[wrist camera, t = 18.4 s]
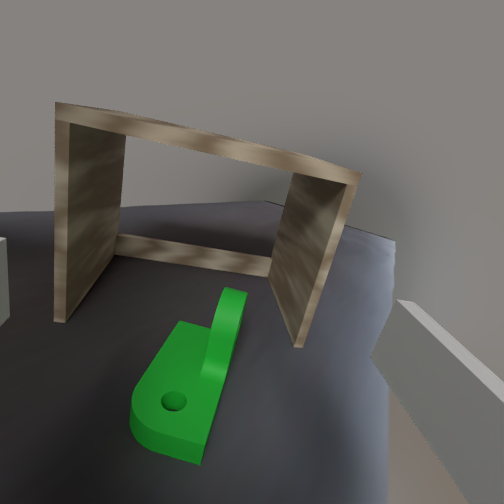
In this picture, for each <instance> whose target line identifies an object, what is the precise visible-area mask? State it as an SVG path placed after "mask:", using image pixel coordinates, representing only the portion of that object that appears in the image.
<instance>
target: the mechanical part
mask: <svg viewBox="0 0 504 504" xmlns="http://www.w3.org/2000/svg"><path fill="white" fill-rule="evenodd" d="M247 296H248V293H247V292H243V291H239V290H236V289H232V288H228V287H225V288H224V290H223V292H222V295H221V298H220V300H219V303H218V306H217V309H216V313H215V316H214V320H213V323H212V327H211V329H209V328H205V327H202V326H198V325H194V324H191V323H187V322H183V321H179V322H178V324H177V325H176V327H175V328H174V330H173V331H172V333H171V334H170V336H169V337H168V339H167V340H166V342H165V343H164V345H163V346H162V348H161V349H160V351H159V352H158V354H157V355H156V357H155V358H154V360H153V361H152V363H151V364H150V366H149V367H148V369H147V370H146V372H145V373H144V375H143V376H142V378H141V379H140V381H139V382H138V384H137V385H136V387H135V389H134V391H133V394H132V400H131V409H130V418H129V423H130V428H131V431H132V434H133V435H134V437H135V438H136V440H137V441H138V442H139V443H140V444H141V445H142V446H144V447H145V448H147V449H149V450H151V451H154V452H157V453H160V454H164V455H167V456H170V457H174V458H177V459H180V460H184V461H187V462H191V463H194V464H197V465H200V464H201V461H202V457H203V454H204V451H205V447H206V444H207V440H208V437H209V434H210V430H211V427H212V424H213V420H214V417H215V414H216V410H217V407H218V404H219V400H220V397H221V394H222V390H223V387H224V384H225V380H226V377H227V374H228V370H229V367H230V363H231V360H232V357H233V353H234V350H235V346H236V342H237V338H238V334H239V330H240V325H241V321H242V317H243V313H244V309H245V305H246V301H247ZM168 409H175V410H177V411H174V412H173V411H168Z"/></svg>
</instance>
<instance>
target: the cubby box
mask: <svg viewBox="0 0 504 504" xmlns="http://www.w3.org/2000/svg"><path fill="white" fill-rule="evenodd" d="M126 135H128V136H133V137H138V138H142V139H146V140H151V141H155V142H160V143H164V144H169V145H173V146H178V147H183V148H187V149H191V150H196V151H200V152H205V153H209V154H214V155H218V156H223V157H227V158H232V159H236V160H241V161H245V162H250V163H255V164H259V165H263V166H268V167H272V168H278V169H282V170H286V171H291V172H293V176H292V180H291V183H290V187H289V191H288V195H287V199H286V202H285V206H284V210H283V214H282V217H281V221H280V225H279V229H278V233H277V236H276V240H275V244H274V248H273V251H272V255H271V258H270V257H263V256H257V255H251V254H245V253H239V252H233V251H227V250H220V249H214V248H208V247H202V246H196V245H190V244H184V243H177V242H171V241H165V240H159V239H153V238H147V237H141V236H134V235H128V234H122V233H118V229H119V217H120V204H121V191H122V179H123V166H124V153H125V142H126ZM361 174H362V173H360V172H357V171H354V170H351V169H347V168H345V167H341V166H338V165H335V164H332V163H329V162H326V161H323V160H320V159H316V158H313V157H310V156H307V155H304V154H299V153H295V152H291V151H287V150H282V149H278V148H274V147H269V146H265V145H261V144H257V143H252V142H248V141H244V140H240V139H235V138H231V137H227V136H223V135H218V134H214V133H210V132H206V131H202V130H197V129H193V128H189V127H185V126H180V125H176V124H172V123H168V122H163V121H159V120H155V119H151V118H146V117H142V116H138V115H134V114H129V113H125V112H121V111H115V110H108V109H100V108H93V107H87V106H79V105H73V104H66V103H59V102H55V211H54V322H62V323H66V321H67V320H68V319H69V317H70V316H71V314H72V313H73V312H74V310H75V309H76V308H77V306H78V305H79V303H80V302H81V301H82V299H83V298H84V296H85V295H86V294H87V292H88V291H89V290H90V288H91V287H92V285H93V284H94V283H95V281H96V280H97V278H98V277H99V276H100V274H101V273H102V272H103V270H104V269H105V267H106V266H107V265H108V263H109V262H110V261H111V259H112V258H113V256H114V255H122V256H128V257H135V258H142V259H148V260H155V261H162V262H168V263H175V264H182V265H188V266H195V267H202V268H208V269H215V270H222V271H229V272H235V273H242V274H249V275H255V276H262V277H268V280H269V283H270V285H271V288H272V291H273V293H274V296H275V298H276V301H277V304H278V306H279V309H280V312H281V314H282V317H283V319H284V322H285V325H286V327H287V330H288V333H289V335H290V338H291V340H292V343H293V346H294V347H298V348H303V345H304V342H305V339H306V337H307V334H308V331H309V328H310V325H311V322H312V319H313V316H314V313H315V310H316V307H317V304H318V301H319V298H320V295H321V292H322V289H323V286H324V283H325V280H326V278H327V275H328V272H329V269H330V266H331V263H332V260H333V257H334V254H335V251H336V248H337V245H338V242H339V239H340V236H341V233H342V230H343V227H344V224H345V221H346V219H347V216H348V213H349V210H350V207H351V204H352V201H353V198H354V195H355V192H356V189H357V186H358V183H359V180H360V177H361Z"/></svg>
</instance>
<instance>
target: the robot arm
mask: <svg viewBox="0 0 504 504" xmlns="http://www.w3.org/2000/svg"><path fill="white" fill-rule="evenodd" d="M9 317H10V307H9V286H8V265H7V244H6V238H3V237H0V326H1V325H2V324H3V323H4V322H5V321H6V320H7V319H8V318H9ZM370 358H371V359H372V361H373V362H374V364H375V365H376V367H377V368H378V370H379V371H380V373H381V374H382V376H383V377H384V379H385V380H386V382H387V383H388V385H389V386H390V388H391V389H392V390H393V392H394V393H395V395H396V396H397V398H398V399H399V401H400V402H401V404H402V405H403V407H404V408H405V410H406V411H407V413H408V414H409V416H410V417H411V419H412V420H413V422H414V423H415V425H416V426H417V428H418V429H419V431H420V432H421V433H422V435H423V436H424V438H425V439H426V441H427V442H428V444H429V445H430V447H431V448H432V449H433V451H434V453H435V454H436V456H437V457H438V459H439V460H440V462H441V463H442V465H443V466H444V467H445V469H446V470H447V472H448V473H449V475H450V476H451V478H452V479H453V481H454V482H455V484H456V485H457V487H458V488H459V490H460V491H461V493H462V494H463V496H464V497H465V499H466V500H467V502H468V503H469V504H504V382H503V381H501V380H500V379H499V378H498V377H497V376H496V375H495V374H494V373H493V372H492V371H490V370H489V369H488V368H487V367H486V366H484V365H483V363H481V362H480V361H479V360H478V359H477V358H476V357H475V356H474V355H472V354H471V353H470V352H469V351H468V350H467V349H466V348H464V346H462V345H461V344H460V343H459V342H458V341H457V340H456V339H455V338H453V337H452V336H451V335H450V334H449V333H448V332H447V331H445V330H444V329H443V328H442V327H441V326H440V325H439V324H438V323H437V322H435V321H434V320H433V319H432V318H431V317H430V316H429V315H427V313H425V312H424V311H423V310H422V309H421V308H420V307H419V306H418V305H416V304H415V303H414V302H410V301H403V300H397V299H396V301H395V304H394V306H393V308H392V310H391V312H390V314H389V317H388V319H387V321H386V323H385V325H384V328H383V330H382V332H381V334H380V336H379V338H378V341H377V343H376V345H375V347H374V349H373V352H372V354H371V356H370Z"/></svg>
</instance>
